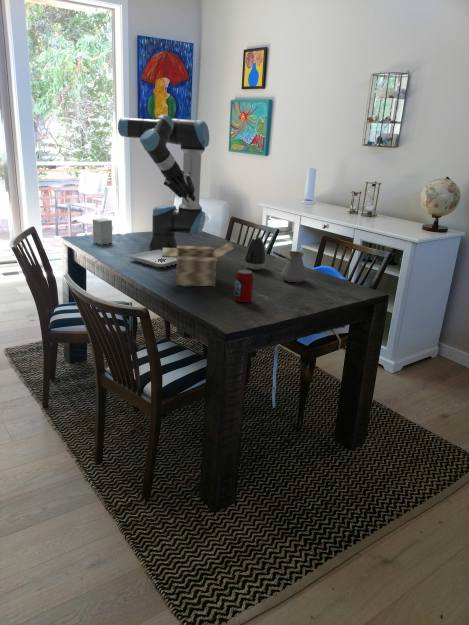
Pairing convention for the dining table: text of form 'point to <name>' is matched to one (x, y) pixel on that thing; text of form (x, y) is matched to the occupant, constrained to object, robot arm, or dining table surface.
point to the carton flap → (224, 250)
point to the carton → (193, 265)
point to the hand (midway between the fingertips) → (195, 206)
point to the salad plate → (154, 258)
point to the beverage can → (243, 285)
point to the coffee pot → (293, 267)
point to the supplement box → (102, 231)
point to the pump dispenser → (255, 254)
